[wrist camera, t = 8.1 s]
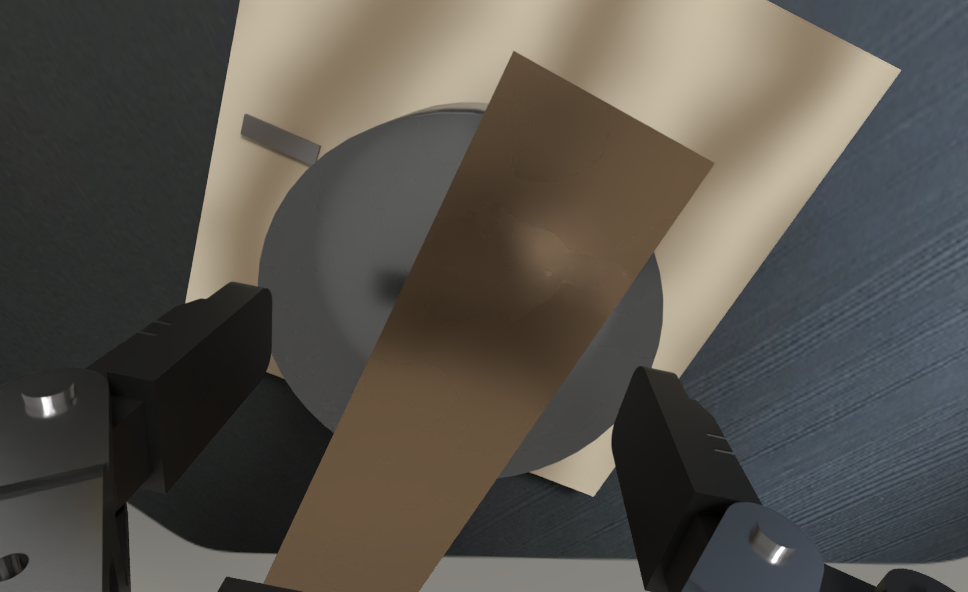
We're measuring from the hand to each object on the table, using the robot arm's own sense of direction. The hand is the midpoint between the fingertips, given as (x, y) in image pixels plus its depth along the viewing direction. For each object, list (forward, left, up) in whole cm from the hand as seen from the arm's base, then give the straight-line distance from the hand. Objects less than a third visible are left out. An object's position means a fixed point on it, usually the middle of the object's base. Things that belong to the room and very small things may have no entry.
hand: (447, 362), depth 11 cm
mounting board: (0, 0, -12) cm, 12 cm away
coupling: (0, 0, -10) cm, 10 cm away
